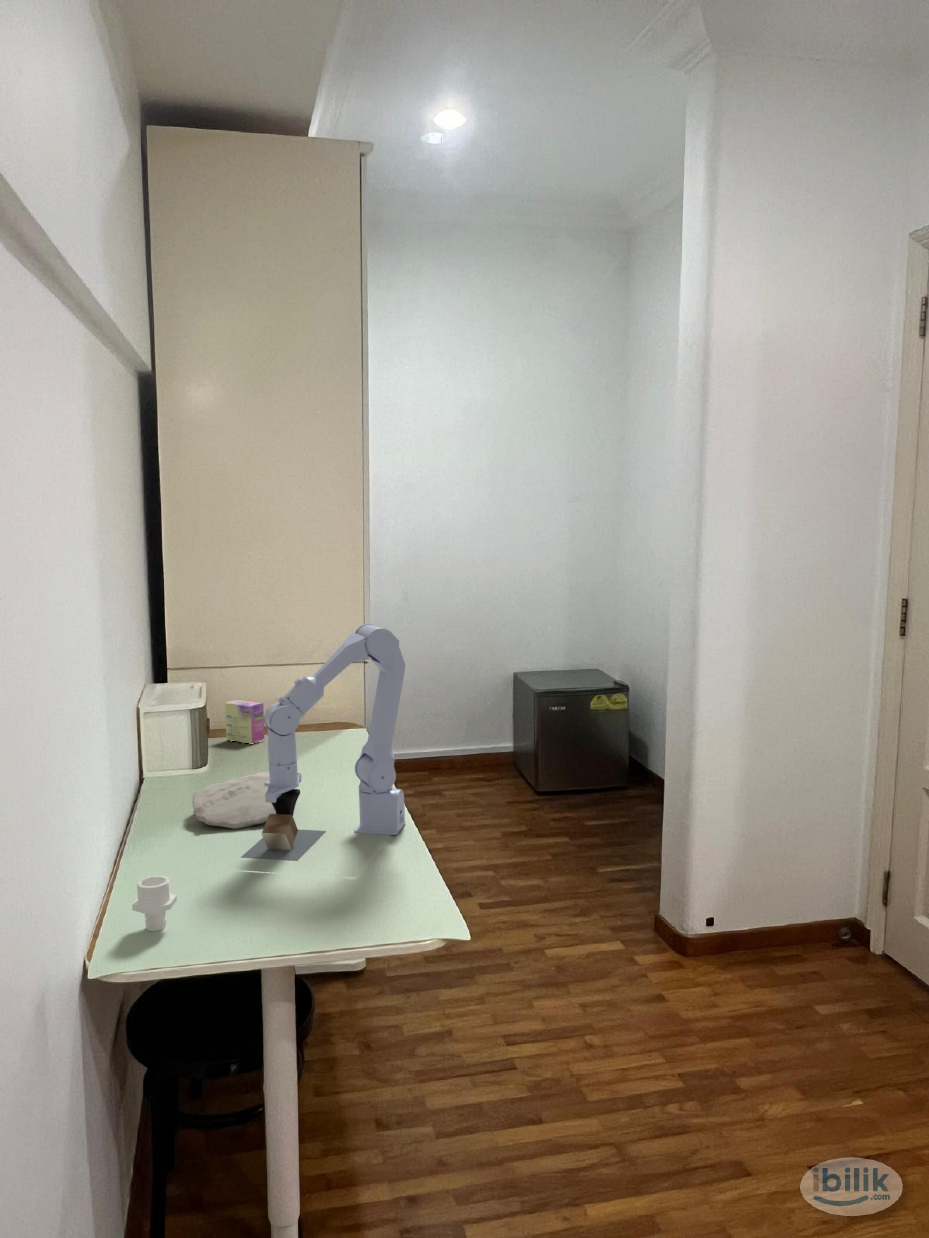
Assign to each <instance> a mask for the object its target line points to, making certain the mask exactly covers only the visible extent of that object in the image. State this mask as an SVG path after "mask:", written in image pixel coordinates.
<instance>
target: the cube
mask: <svg viewBox="0 0 929 1238" xmlns="http://www.w3.org/2000/svg"><path fill="white" fill-rule="evenodd" d="M298 829H299V828H298V827H297V823H296V821H295V819H294V814H293V815H282V814H269V816H268V818H267V821H266V822H265V824H264V827H263V829H262V830H261V831H262V832H261V836H262V838H264V841H265V843H266V846H267V848H268V849H276V850H291V849H292V846H293V843H294V841H295V838H296V835H297V832H298Z"/></svg>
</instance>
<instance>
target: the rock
mask: <svg viewBox="0 0 929 1238" xmlns="http://www.w3.org/2000/svg"><path fill="white" fill-rule="evenodd" d="M266 781H270V780H269V771H258V772H255V773H253V774H250V775H245V776H240V777H239V776H238V777H235V778H230V779H227V780H226V781H224V782H219V783H210V784H208V785H207V786H205V787H203V788H202V789H200V790H198V791H196V792H194V793H193V796H192V797H193V798H192V801H191V802H192V808H193V811H192V813H193V815H194V816H195V817H196V819H197V820H199V821H201V822H203V823H204V824H205V825H208V826H215V827H223V828H226V829H227V828H228V829H234V830H235V829H236V830H237V829H243V828H248V827H251V826H255V825H261V824H264V823H266V821H267V818H268V816H269V814H276V811H275V809H274V807H273V805H272V803H270V802H266V800H265V793H266V792H267V790H268V786H264V783H265V782H266Z"/></svg>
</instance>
